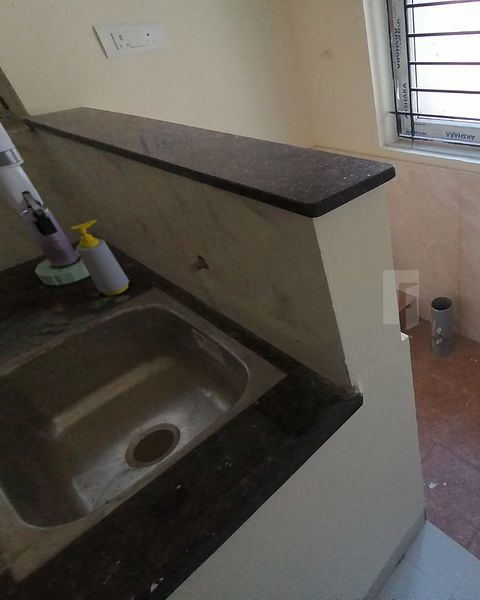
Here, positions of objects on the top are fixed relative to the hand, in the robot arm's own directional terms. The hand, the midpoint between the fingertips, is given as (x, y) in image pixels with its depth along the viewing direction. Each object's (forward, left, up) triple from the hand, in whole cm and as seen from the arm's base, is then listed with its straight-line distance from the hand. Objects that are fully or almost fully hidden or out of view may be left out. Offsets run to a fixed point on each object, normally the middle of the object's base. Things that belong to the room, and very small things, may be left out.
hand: (45, 229), depth 98 cm
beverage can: (0, 0, -10) cm, 10 cm away
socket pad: (0, 0, -13) cm, 13 cm away
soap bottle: (+3, -19, -13) cm, 23 cm away
